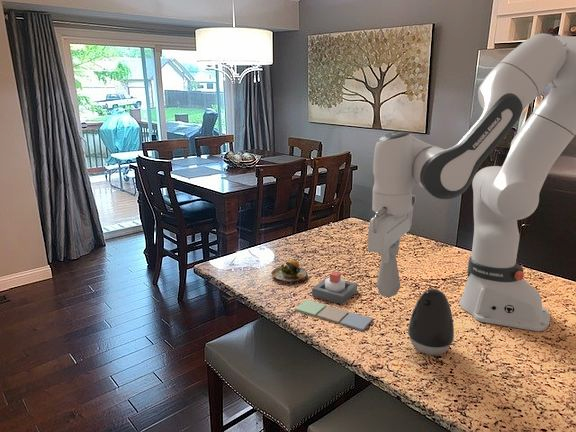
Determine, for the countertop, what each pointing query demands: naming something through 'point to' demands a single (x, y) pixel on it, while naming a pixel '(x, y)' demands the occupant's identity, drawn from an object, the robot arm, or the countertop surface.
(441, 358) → the countertop surface
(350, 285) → the button housing
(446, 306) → the dark grey egg device
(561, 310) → the countertop surface
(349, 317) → the track
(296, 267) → the bowl of food
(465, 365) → the countertop surface
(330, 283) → the dome
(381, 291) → the salt shaker
